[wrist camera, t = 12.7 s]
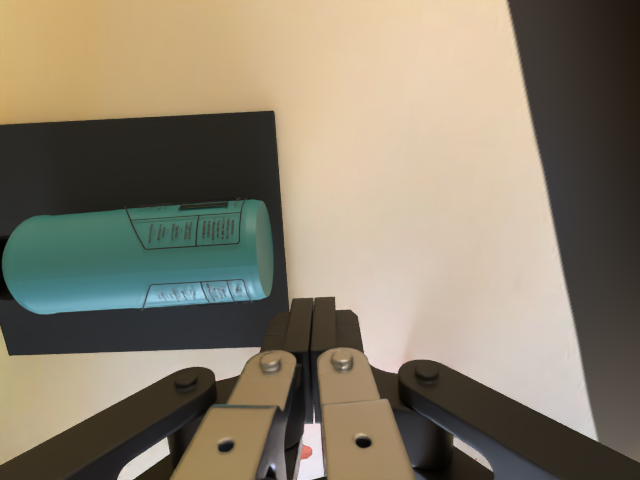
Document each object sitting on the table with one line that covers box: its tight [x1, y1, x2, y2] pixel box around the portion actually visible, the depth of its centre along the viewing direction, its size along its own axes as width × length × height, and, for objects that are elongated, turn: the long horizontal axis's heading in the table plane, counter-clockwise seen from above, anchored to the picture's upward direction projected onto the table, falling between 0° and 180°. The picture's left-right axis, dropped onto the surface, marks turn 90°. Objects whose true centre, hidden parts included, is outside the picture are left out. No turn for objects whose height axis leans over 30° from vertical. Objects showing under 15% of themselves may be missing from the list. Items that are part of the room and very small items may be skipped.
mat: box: [0, 111, 289, 356], centre depth 27 cm, size 22×17×1 cm
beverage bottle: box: [0, 197, 273, 314], centre depth 24 cm, size 6×7×20 cm
